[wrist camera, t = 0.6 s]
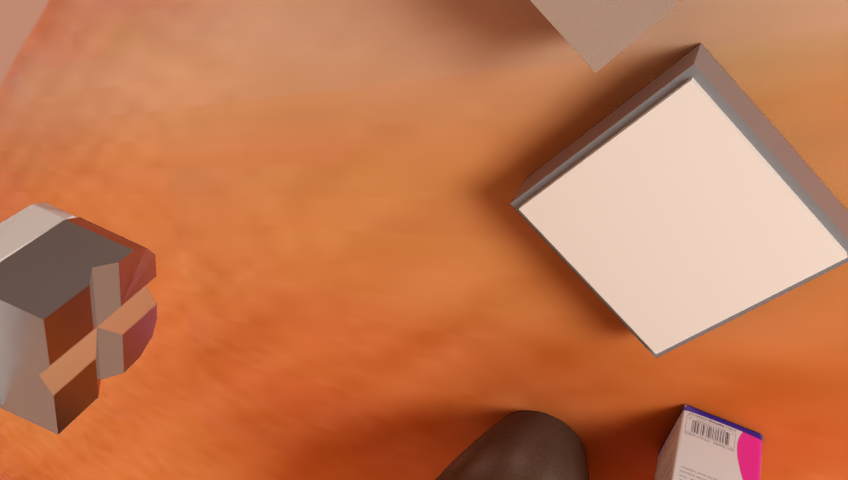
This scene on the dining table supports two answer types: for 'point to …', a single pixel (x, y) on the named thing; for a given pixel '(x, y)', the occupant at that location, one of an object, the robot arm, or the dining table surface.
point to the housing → (602, 24)
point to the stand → (685, 207)
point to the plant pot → (522, 452)
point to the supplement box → (709, 449)
